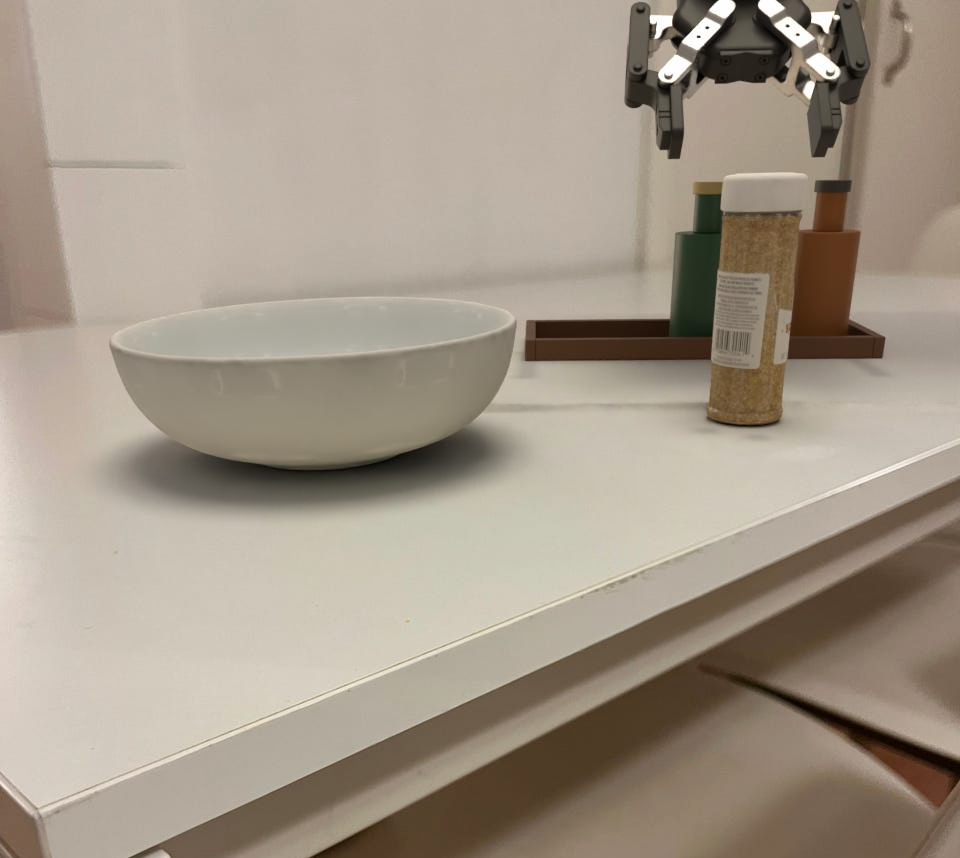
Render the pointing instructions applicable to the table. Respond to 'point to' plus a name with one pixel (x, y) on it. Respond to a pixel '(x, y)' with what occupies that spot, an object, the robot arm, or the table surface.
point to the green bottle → (697, 266)
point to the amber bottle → (825, 266)
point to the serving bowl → (316, 376)
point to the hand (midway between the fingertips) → (749, 147)
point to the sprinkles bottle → (754, 295)
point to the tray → (671, 342)
